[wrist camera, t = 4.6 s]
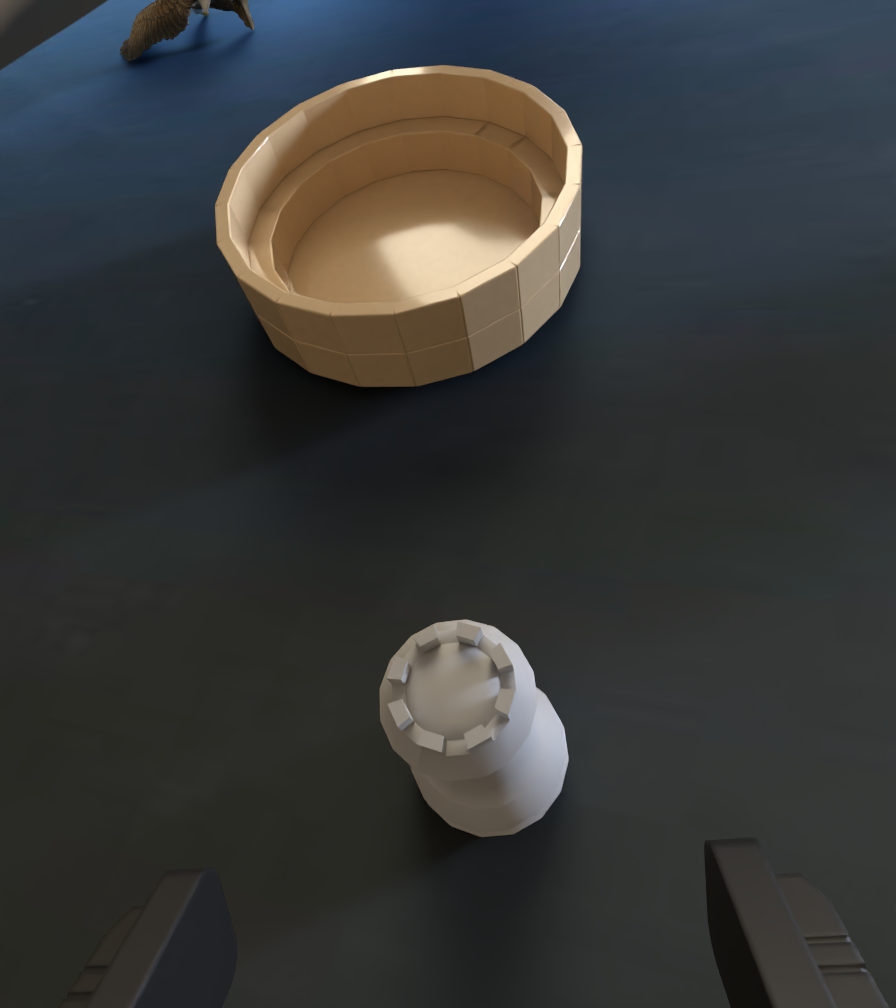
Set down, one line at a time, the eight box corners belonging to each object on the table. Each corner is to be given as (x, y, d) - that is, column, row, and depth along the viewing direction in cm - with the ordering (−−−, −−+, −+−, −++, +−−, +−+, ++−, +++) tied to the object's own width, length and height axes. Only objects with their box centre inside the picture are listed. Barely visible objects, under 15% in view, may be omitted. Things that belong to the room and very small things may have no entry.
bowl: (583, 151, 33) (585, 51, 29) (576, 396, 26) (577, 310, 22) (297, 170, 35) (263, 81, 31) (223, 397, 29) (169, 320, 25)
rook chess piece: (525, 872, 19) (498, 861, 12) (387, 786, 20) (293, 733, 13) (594, 721, 20) (606, 634, 13) (461, 652, 22) (411, 543, 15)
